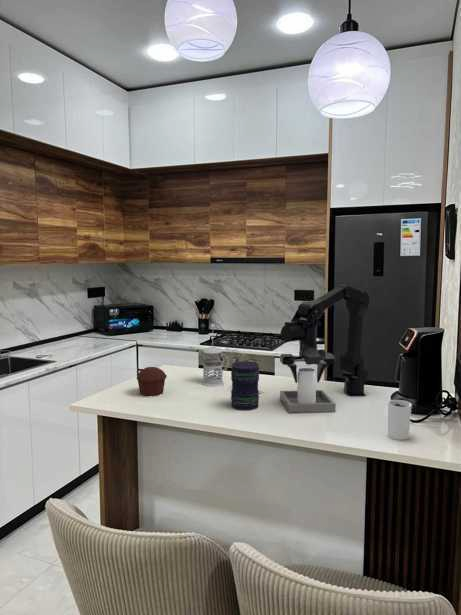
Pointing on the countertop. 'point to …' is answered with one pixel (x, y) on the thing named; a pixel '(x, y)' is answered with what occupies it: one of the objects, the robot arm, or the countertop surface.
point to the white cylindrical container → (399, 419)
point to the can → (306, 386)
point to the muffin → (151, 381)
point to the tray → (320, 406)
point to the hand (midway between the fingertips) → (307, 382)
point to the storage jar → (245, 385)
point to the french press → (213, 379)
